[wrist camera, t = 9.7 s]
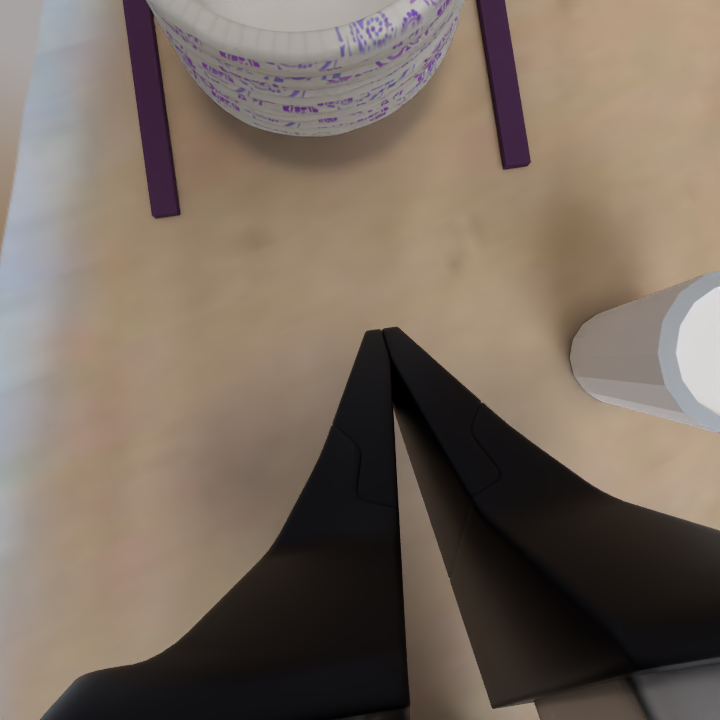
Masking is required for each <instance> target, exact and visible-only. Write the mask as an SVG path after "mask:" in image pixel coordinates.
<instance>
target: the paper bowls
mask: <svg viewBox="0 0 720 720" xmlns="http://www.w3.org/2000/svg"><path fill="white" fill-rule="evenodd" d="M146 1H147V3H148V5H149V6H150V8H151V10H152V12H153V14H154V16H155V17H156V19H157V21H158V23H159V25H160V26H161V28H162V29H163V31H164V32H165V34H166V36H167V37H168V39H169V41H170V43H171V45H172V47H173V48H174V50H175V52H176V53H177V55H178V57H179V59H180V60H181V62H182V64H183V65H184V67H185V68H186V70H187V71H188V73H189V74H190V75H191V76H192V78H193V79H194V80H195V82H196V83H197V84H198V85H199V87H200V88H201V89H202V90H203V91H204V92H205V93H206V94H207V95H208V96H209V97H210V98H211V99H212V100H213V101H214V102H215V103H217V104H218V105H219V106H220V107H222V108H223V109H224V110H225V111H226V112H228V113H230V114H231V115H233V116H234V117H236V118H238V119H239V120H241V121H243V122H245V123H247V124H249V125H251V126H253V127H256V128H259V129H262V130H266V131H269V132H273V133H279V134H285V135H291V136H303V137H304V136H312V137H324V136H334V135H338V134H342V133H346V132H350V131H353V130H355V129H358V128H361V127H364V126H367V125H369V124H372V123H374V122H377V121H379V120H381V119H383V118H385V117H387V116H389V115H391V114H392V113H394V112H395V111H397V110H398V109H399V108H400V107H401V106H403V105H404V104H405V103H406V102H408V101H409V100H410V99H412V98H413V97H414V96H415V95H416V94H417V93H418V92H419V91H420V90H421V89H422V88H423V87H424V86H425V85H426V84H427V82H428V81H429V79H430V78H431V77H432V75H433V74H434V73H435V71H436V70H437V68H438V67H439V65H440V64H441V62H442V60H443V58H444V56H445V54H446V52H447V50H448V48H449V46H450V43H451V41H452V38H453V35H454V32H455V29H456V26H457V23H458V20H459V16H460V12H461V9H462V6H463V3H464V0H146Z"/></svg>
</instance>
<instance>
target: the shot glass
mask: <svg viewBox="0 0 720 720" xmlns="http://www.w3.org/2000/svg"><path fill="white" fill-rule="evenodd" d="M570 362H571V366H572V370H573V375H574V377H575V378H576V380H577V381H578V383H579V384H580V386H581V387H582V388H583V390H584V391H585V392H586V393H588V394H590V395H591V396H593V397H594V398H596V399H597V400H599V401H601V402H605V403H609V404H612V405H616V406H620V407H623V408H627V409H631V410H635V411H638V412H642V413H646V414H649V415H653V416H657V417H661V418H664V419H668V420H672V421H675V422H679V423H683V424H687V425H690V426H694V427H698V428H701V429H705V430H709V431H713V432H718V433H720V271H717V272H712V273H708V274H704V275H702V276H699V277H696V278H693V279H691V280H688V281H685V282H683V283H680V284H677V285H674V286H672V287H669V288H666V289H664V290H661V291H658V292H655V293H653V294H650V295H647V296H645V297H642V298H639V299H636V300H634V301H631V302H628V303H625V304H623V305H620V306H617V307H615V308H612V309H609V310H606V311H604V312H601V313H598V314H596V315H595V316H593V317H592V318H591V319H589V320H588V321H586V322H585V323H584V324H582V326H581V327H580V329H579V330H578V332H577V334H576V335H575V337H574V338H573V341H572V347H571V353H570Z"/></svg>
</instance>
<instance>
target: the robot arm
mask: <svg viewBox="0 0 720 720" xmlns="http://www.w3.org/2000/svg"><path fill="white" fill-rule="evenodd" d="M393 408H394V412H395V415H396V418H397V421H398V424H399V427H400V431H401V434H402V437H403V440H404V443H405V446H406V449H407V452H408V455H409V458H410V461H411V464H412V467H413V470H414V473H415V476H416V479H417V482H418V485H419V488H420V491H421V494H422V497H423V500H424V503H425V506H426V509H427V512H428V515H429V518H430V521H431V525H432V528H433V531H434V534H435V537H436V540H437V543H438V546H439V549H440V552H441V555H442V558H443V561H444V564H445V567H446V570H447V573H448V576H449V578H450V582H451V585H452V588H453V591H454V594H455V598H456V601H457V604H458V607H459V610H460V613H461V616H462V619H463V622H464V625H465V628H466V631H467V634H468V637H469V640H470V643H471V646H472V649H473V652H474V655H475V658H476V661H477V664H478V667H479V670H480V673H481V676H482V679H483V682H484V685H485V688H486V691H487V694H488V697H489V700H490V703H491V706H492V708H493V709H495V708H501V707H507V706H514V705H520V704H526V703H532V702H534V703H535V706H536V709H537V712H538V715H539V718H540V720H720V531H719V530H716V529H713V528H710V527H706V526H703V525H700V524H696V523H693V522H690V521H687V520H683V519H680V518H677V517H673V516H670V515H667V514H664V513H660V512H657V511H654V510H650V509H647V508H644V507H641V506H637V505H634V504H631V503H628V502H625V501H622V500H620V499H617V498H615V497H613V496H611V495H609V494H607V493H605V492H603V491H601V490H599V489H598V488H596V487H594V486H592V485H591V484H590V483H588V482H587V481H585V480H584V479H582V478H581V477H579V476H578V475H577V474H575V473H574V472H572V471H571V470H570V469H568V468H567V467H565V466H564V465H563V464H561V463H560V462H558V461H557V460H556V459H554V458H553V457H551V456H550V455H549V454H547V453H546V452H545V451H543V450H542V449H540V448H539V447H538V446H536V445H535V444H533V443H532V442H531V441H529V440H528V439H527V438H525V437H524V436H523V435H521V434H520V433H519V432H517V431H516V430H515V429H513V428H512V427H511V426H510V425H508V424H507V423H506V422H505V421H504V420H502V419H501V418H500V417H499V416H498V415H497V414H495V413H494V412H493V411H492V410H491V409H490V408H489V407H487V406H486V405H485V404H484V403H481V401H480V400H479V399H478V398H477V397H476V396H475V395H474V394H473V393H471V392H470V391H469V390H468V389H467V388H466V387H465V386H464V385H462V384H461V383H460V382H459V381H458V380H457V379H456V378H455V377H453V376H452V375H451V374H450V373H449V372H448V371H447V370H446V369H444V368H443V367H442V366H441V365H440V364H439V363H438V362H437V361H435V360H434V359H433V358H432V357H431V356H430V355H429V354H428V353H426V352H425V351H424V350H423V349H422V348H421V347H420V346H419V345H417V344H416V343H415V342H414V341H413V340H412V339H411V338H410V337H408V336H407V335H406V334H405V333H404V332H403V331H402V330H401V329H400V328H398V327H390V328H384V329H383V330H382V331H381V330H380V329H377V330H370V331H366V332H365V334H364V337H363V340H362V343H361V346H360V348H359V351H358V354H357V357H356V359H355V362H354V365H353V368H352V370H351V373H350V376H349V379H348V382H347V384H346V387H345V390H344V393H343V395H342V398H341V401H340V404H339V407H338V409H337V412H336V415H335V418H334V420H333V425H332V426H331V428H330V431H329V434H328V437H327V439H326V442H325V444H324V447H323V449H322V452H321V454H320V456H319V459H318V461H317V463H316V465H315V467H314V469H313V471H312V473H311V475H310V477H309V479H308V481H307V483H306V485H305V487H304V488H303V490H302V492H301V494H300V496H299V498H298V500H297V502H296V504H295V506H294V507H293V509H292V511H291V513H290V515H289V517H288V519H287V521H286V523H285V525H284V526H283V528H282V530H281V532H280V534H279V535H278V537H277V538H276V540H275V542H274V543H273V545H272V546H271V548H270V549H269V550H268V552H267V553H266V554H265V555H264V556H263V558H262V559H261V560H260V561H259V562H258V563H257V564H256V565H255V566H254V567H253V568H252V569H251V570H250V571H249V572H248V573H247V574H246V575H245V576H244V577H243V578H242V579H241V580H240V581H239V582H238V583H237V584H236V585H235V586H234V587H233V588H232V589H231V590H230V591H229V592H228V593H227V594H226V595H225V596H224V597H223V598H222V599H221V600H220V601H219V602H218V603H217V604H216V605H215V606H214V607H213V608H212V609H211V610H210V611H209V612H208V613H207V614H206V615H205V616H204V617H203V618H202V619H201V620H200V621H199V622H198V623H197V624H196V625H195V626H194V627H193V628H192V629H191V630H190V631H189V632H188V633H187V634H185V635H184V636H183V637H182V638H181V639H180V640H179V641H178V642H176V643H175V644H174V645H172V646H171V647H169V648H168V649H166V650H165V651H163V652H162V653H160V654H158V655H156V656H154V657H152V658H150V659H148V660H146V661H143V662H140V663H136V664H133V665H126V666H120V667H114V668H108V669H103V670H98V671H94V672H91V673H87V674H85V675H83V676H81V677H79V678H78V679H76V680H75V681H74V682H73V683H72V684H71V686H70V687H69V688H68V689H67V690H66V691H65V692H64V693H63V694H62V695H61V697H60V698H59V699H58V700H57V701H56V702H55V703H54V704H53V705H52V706H51V707H50V709H49V710H48V711H47V712H46V713H45V714H44V715H43V716H42V718H41V719H40V720H410V694H409V682H408V669H407V651H406V633H405V615H404V597H403V579H402V561H401V543H400V525H399V507H398V488H397V469H396V451H395V432H394V414H393Z"/></svg>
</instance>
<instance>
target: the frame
mask: <svg viewBox="0 0 720 720" xmlns="http://www.w3.org/2000/svg"><path fill="white" fill-rule="evenodd" d="M123 5H124V13H125V20H126V27H127V35H128V42H129V50H130V57H131V64H132V72H133V79H134V86H135V94H136V101H137V109H138V116H139V123H140V131H141V138H142V146H143V153H144V160H145V168H146V175H147V182H148V190H149V197H150V205H151V212H152V216H153V217H155V218H161V217H168V216H175V215H180V209H179V202H178V195H177V187H176V180H175V173H174V165H173V158H172V151H171V144H170V136H169V129H168V122H167V114H166V107H165V100H164V93H163V85H162V78H161V71H160V64H159V56H158V49H157V42H156V34H155V27H154V20H153V13H152V10H151V8H150V6H149V5H148V3H147V1H146V0H123ZM477 5H478V11H479V18H480V24H481V30H482V36H483V43H484V49H485V55H486V61H487V68H488V74H489V80H490V87H491V93H492V99H493V105H494V112H495V118H496V124H497V131H498V137H499V143H500V149H501V156H502V162H503V168H504V169H509V168H516V167H523V166H528V165H529V164H530V162H531V161H530V155H529V149H528V142H527V136H526V130H525V124H524V117H523V111H522V105H521V99H520V93H519V86H518V80H517V74H516V68H515V62H514V55H513V49H512V43H511V37H510V31H509V24H508V18H507V12H506V6H505V0H477Z"/></svg>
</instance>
